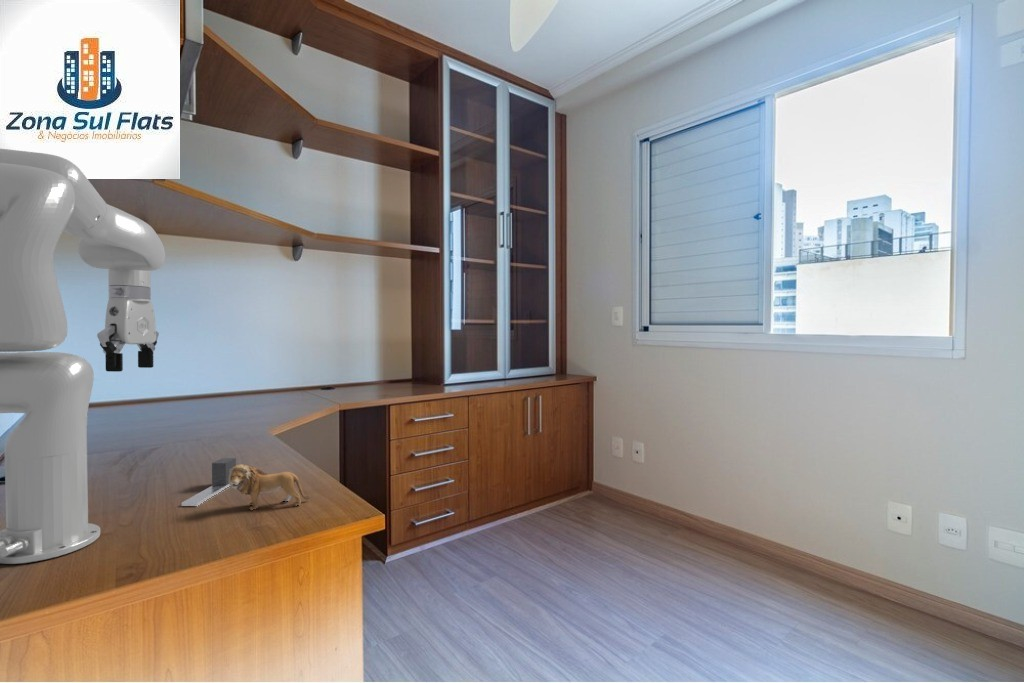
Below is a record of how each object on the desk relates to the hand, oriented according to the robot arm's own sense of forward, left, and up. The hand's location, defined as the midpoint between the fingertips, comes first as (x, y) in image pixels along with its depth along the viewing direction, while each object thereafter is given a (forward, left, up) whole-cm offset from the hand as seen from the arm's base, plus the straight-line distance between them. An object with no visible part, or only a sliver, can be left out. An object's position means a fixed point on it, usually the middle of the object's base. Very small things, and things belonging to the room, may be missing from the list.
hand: (130, 369), depth 109 cm
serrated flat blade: (-8, -24, -26) cm, 36 cm away
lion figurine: (-15, -39, -26) cm, 49 cm away
